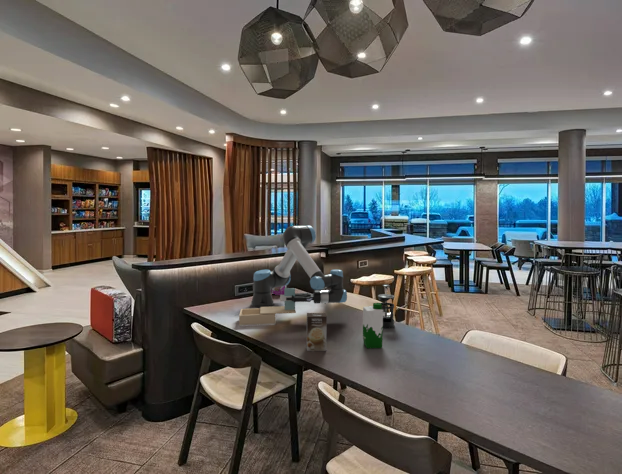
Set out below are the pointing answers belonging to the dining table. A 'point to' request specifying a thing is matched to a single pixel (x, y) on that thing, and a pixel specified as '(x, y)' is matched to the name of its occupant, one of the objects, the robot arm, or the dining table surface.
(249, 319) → the carton
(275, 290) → the candy bar box
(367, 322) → the milk carton
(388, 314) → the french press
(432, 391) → the dining table surface
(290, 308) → the carton lid
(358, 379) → the dining table surface
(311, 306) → the dining table surface
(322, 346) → the coffee box
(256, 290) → the robot arm
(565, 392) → the dining table surface
